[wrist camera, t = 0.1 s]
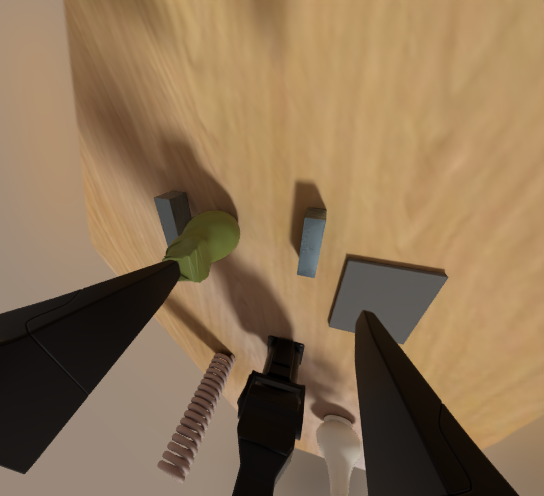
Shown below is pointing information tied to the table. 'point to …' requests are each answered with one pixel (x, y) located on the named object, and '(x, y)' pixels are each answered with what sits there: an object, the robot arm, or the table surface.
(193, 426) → the coil
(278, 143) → the table surface
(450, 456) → the robot arm
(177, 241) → the pear
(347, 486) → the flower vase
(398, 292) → the mat
